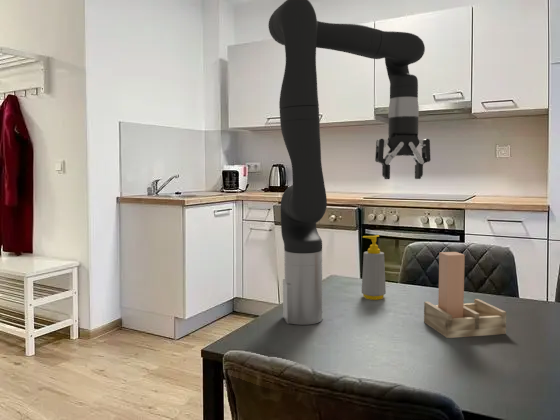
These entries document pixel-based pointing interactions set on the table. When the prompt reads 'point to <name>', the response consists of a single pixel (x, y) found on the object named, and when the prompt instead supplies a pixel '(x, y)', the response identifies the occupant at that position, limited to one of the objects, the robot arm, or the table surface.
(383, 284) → the soap bottle
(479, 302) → the rack
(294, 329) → the table surface
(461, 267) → the clay bar
